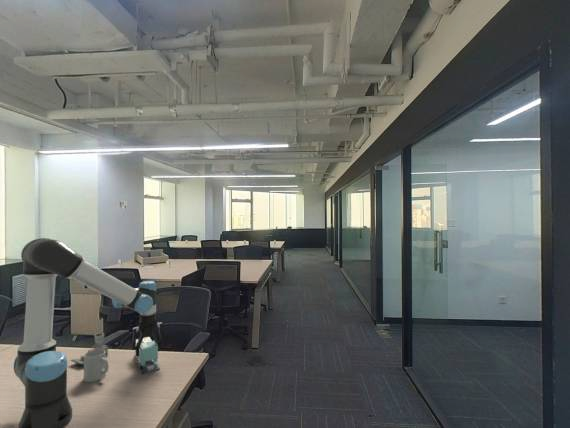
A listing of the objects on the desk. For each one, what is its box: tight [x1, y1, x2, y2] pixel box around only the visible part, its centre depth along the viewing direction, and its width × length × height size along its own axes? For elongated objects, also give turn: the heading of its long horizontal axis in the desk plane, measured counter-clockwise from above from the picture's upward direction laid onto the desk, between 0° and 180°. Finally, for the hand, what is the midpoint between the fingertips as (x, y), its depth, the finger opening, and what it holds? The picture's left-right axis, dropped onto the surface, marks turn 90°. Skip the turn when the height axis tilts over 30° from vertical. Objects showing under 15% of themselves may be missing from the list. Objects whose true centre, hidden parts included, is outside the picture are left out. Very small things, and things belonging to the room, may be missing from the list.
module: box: [140, 340, 158, 366], centre depth 151 cm, size 8×7×8 cm
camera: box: [70, 332, 109, 366], centre depth 157 cm, size 9×12×15 cm
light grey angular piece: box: [133, 336, 161, 375], centre depth 155 cm, size 22×8×9 cm, turn 34°
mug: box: [83, 349, 109, 383], centre depth 140 cm, size 12×8×11 cm
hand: (148, 360), depth 151 cm, fingers closed on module, 7 cm apart
